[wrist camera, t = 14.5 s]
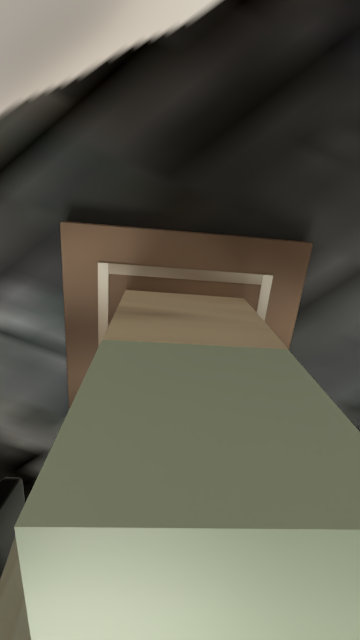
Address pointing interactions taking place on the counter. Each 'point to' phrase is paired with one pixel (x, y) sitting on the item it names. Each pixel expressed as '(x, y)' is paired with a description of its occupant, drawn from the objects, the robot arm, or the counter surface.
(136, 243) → the walnut board
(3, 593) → the canister
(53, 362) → the counter surface
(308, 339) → the counter surface
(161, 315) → the beech block
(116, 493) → the sage block
